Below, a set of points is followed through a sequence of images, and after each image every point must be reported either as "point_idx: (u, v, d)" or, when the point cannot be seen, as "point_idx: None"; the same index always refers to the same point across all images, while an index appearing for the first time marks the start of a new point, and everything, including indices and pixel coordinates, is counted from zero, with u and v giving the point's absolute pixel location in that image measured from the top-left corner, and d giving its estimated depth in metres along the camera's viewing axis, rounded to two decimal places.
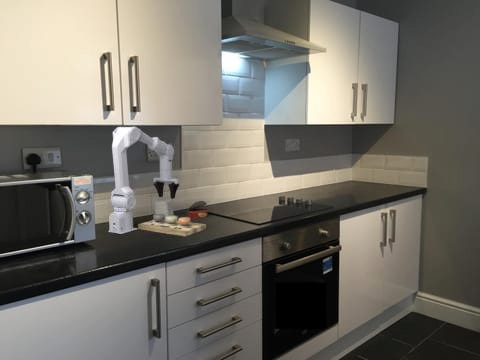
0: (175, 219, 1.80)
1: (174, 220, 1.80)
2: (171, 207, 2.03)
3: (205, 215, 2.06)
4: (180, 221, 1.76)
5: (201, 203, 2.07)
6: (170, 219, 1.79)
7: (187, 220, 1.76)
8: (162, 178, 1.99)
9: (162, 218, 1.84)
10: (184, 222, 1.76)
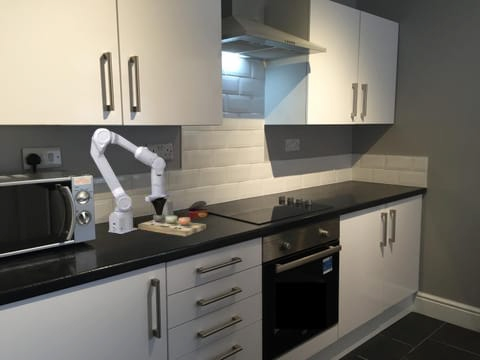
0: (175, 219, 1.80)
1: (174, 220, 1.80)
2: (171, 207, 2.03)
3: (205, 215, 2.06)
4: (180, 221, 1.76)
5: (201, 203, 2.07)
6: (170, 219, 1.79)
7: (187, 220, 1.76)
8: None
9: (162, 218, 1.84)
10: (184, 222, 1.76)
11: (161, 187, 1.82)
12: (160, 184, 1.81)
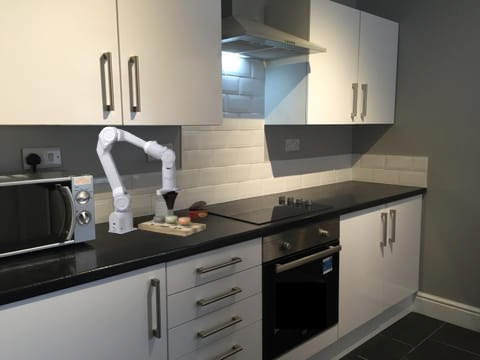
0: (175, 219, 1.80)
1: (174, 220, 1.80)
2: None
3: (205, 215, 2.06)
4: (180, 221, 1.76)
5: (201, 203, 2.07)
6: (170, 219, 1.79)
7: (187, 220, 1.76)
8: None
9: (162, 220, 1.84)
10: (184, 222, 1.76)
11: (172, 180, 1.78)
12: (170, 177, 1.77)
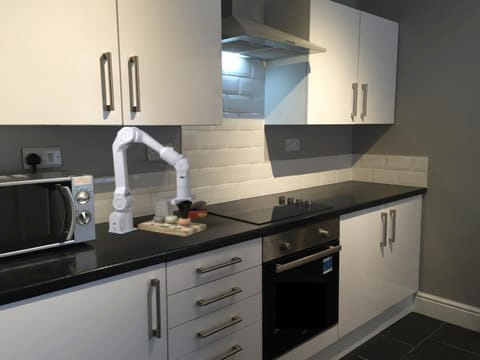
0: (175, 219, 1.80)
1: (174, 220, 1.80)
2: (171, 207, 2.03)
3: (205, 215, 2.06)
4: (180, 221, 1.76)
5: (201, 203, 2.07)
6: (170, 219, 1.79)
7: (187, 220, 1.76)
8: None
9: (162, 220, 1.84)
10: (184, 222, 1.76)
11: (187, 190, 1.75)
12: (183, 187, 1.74)
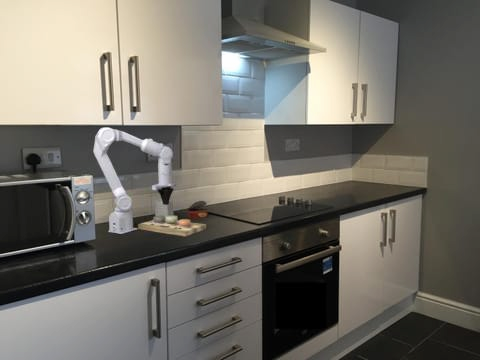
0: (175, 219, 1.80)
1: (174, 220, 1.80)
2: (171, 207, 2.03)
3: (205, 215, 2.06)
4: (180, 223, 1.77)
5: (201, 203, 2.07)
6: (170, 219, 1.79)
7: (187, 222, 1.77)
8: None
9: (162, 220, 1.84)
10: (184, 224, 1.76)
11: (168, 176, 1.83)
12: (167, 173, 1.82)
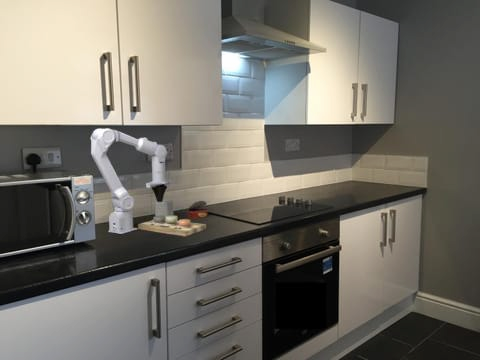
0: (175, 219, 1.80)
1: (174, 220, 1.80)
2: (171, 207, 2.03)
3: (205, 215, 2.06)
4: (180, 223, 1.77)
5: (201, 203, 2.07)
6: (170, 219, 1.79)
7: (187, 222, 1.77)
8: None
9: (162, 220, 1.84)
10: (184, 224, 1.76)
11: (162, 174, 1.86)
12: (162, 171, 1.86)
